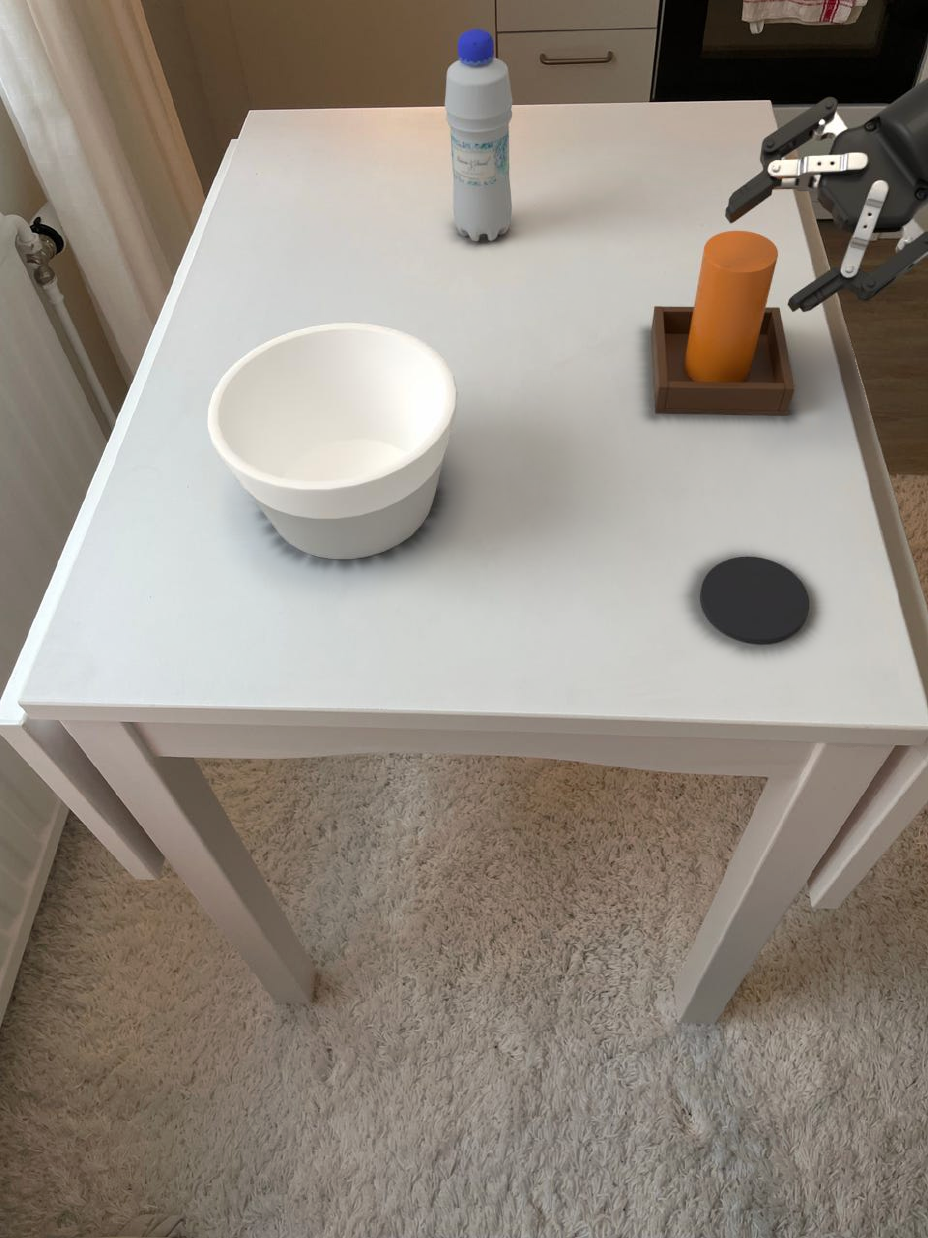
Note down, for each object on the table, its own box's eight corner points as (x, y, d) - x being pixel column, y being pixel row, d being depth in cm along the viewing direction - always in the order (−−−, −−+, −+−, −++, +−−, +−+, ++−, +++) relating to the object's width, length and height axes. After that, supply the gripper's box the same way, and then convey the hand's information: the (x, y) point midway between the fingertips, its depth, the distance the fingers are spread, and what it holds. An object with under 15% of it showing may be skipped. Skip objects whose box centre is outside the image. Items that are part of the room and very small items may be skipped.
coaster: (817, 579, 74) (819, 574, 73) (793, 658, 70) (795, 653, 69) (716, 549, 76) (717, 544, 76) (686, 624, 72) (687, 619, 71)
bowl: (298, 403, 89) (274, 304, 80) (494, 444, 84) (490, 343, 76) (198, 553, 78) (159, 458, 70) (416, 609, 74) (402, 514, 65)
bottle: (443, 241, 104) (428, 42, 88) (466, 208, 107) (456, 12, 91) (501, 252, 102) (497, 51, 86) (522, 218, 106) (522, 20, 89)
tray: (773, 333, 92) (779, 306, 89) (787, 415, 85) (794, 388, 82) (650, 332, 93) (654, 305, 90) (655, 412, 86) (659, 386, 83)
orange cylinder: (757, 355, 89) (786, 238, 79) (740, 395, 86) (767, 278, 76) (694, 341, 91) (715, 224, 81) (675, 379, 88) (694, 263, 78)
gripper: (908, 16, 67) (707, 166, 70) (1030, 177, 65) (818, 322, 68) (887, 73, 74) (706, 206, 77) (996, 219, 72) (806, 348, 76)
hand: (759, 260), depth 73 cm, fingers open, 8 cm apart
